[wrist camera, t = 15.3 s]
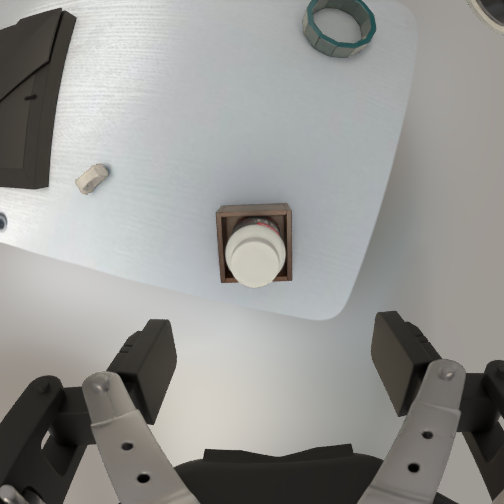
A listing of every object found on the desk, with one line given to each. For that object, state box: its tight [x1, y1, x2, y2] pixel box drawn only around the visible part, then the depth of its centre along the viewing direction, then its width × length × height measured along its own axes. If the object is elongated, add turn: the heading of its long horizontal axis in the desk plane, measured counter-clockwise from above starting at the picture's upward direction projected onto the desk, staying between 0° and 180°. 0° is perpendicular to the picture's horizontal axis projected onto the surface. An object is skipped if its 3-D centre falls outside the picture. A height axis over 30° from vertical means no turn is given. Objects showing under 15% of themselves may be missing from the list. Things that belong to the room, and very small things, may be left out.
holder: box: [216, 203, 292, 283], centre depth 33 cm, size 7×7×4 cm
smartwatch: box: [75, 164, 108, 195], centre depth 32 cm, size 4×2×4 cm, turn 124°
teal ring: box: [303, 0, 376, 58], centre depth 27 cm, size 7×7×4 cm
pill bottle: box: [225, 216, 286, 288], centre depth 30 cm, size 5×5×10 cm
